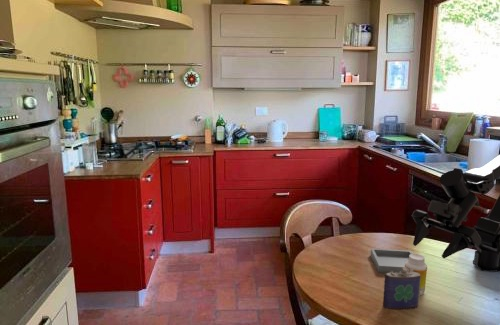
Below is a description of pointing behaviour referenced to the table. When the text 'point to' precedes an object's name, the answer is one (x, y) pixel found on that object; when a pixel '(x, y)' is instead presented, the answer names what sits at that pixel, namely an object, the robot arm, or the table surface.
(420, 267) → the supplement bottle
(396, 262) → the tray
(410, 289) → the blue hip flask
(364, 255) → the table surface
